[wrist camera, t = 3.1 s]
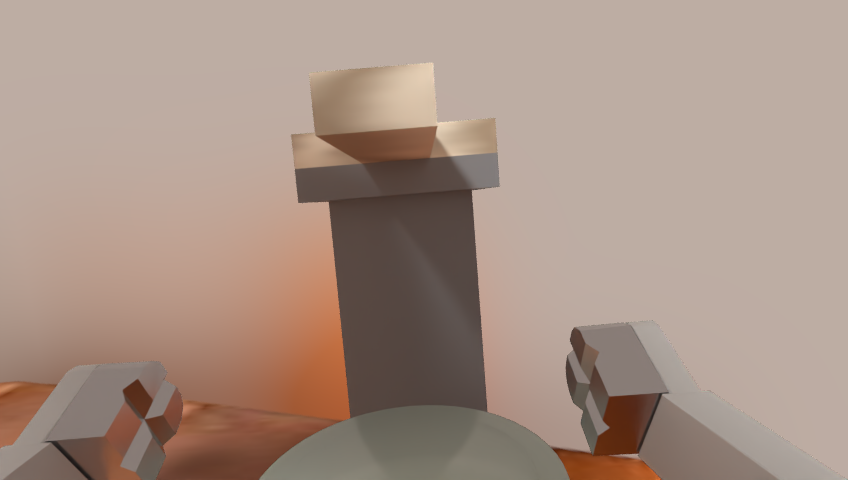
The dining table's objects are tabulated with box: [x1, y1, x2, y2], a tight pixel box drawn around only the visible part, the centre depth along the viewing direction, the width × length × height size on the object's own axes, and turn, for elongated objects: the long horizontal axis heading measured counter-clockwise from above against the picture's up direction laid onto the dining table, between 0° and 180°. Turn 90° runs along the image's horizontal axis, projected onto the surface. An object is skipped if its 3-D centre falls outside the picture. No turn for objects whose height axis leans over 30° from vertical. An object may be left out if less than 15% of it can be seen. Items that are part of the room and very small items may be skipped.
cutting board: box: [291, 63, 497, 169], centre depth 27 cm, size 12×24×2 cm, turn 0°
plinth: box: [295, 153, 499, 418], centre depth 34 cm, size 12×12×30 cm
